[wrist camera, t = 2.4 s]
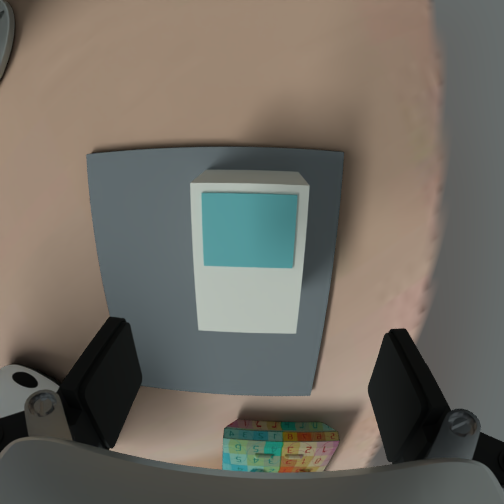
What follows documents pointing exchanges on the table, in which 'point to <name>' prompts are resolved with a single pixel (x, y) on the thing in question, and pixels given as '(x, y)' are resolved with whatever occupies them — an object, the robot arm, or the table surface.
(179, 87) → the table surface
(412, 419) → the robot arm
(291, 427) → the puzzle game
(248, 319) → the card box
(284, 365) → the mat
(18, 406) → the milk container
